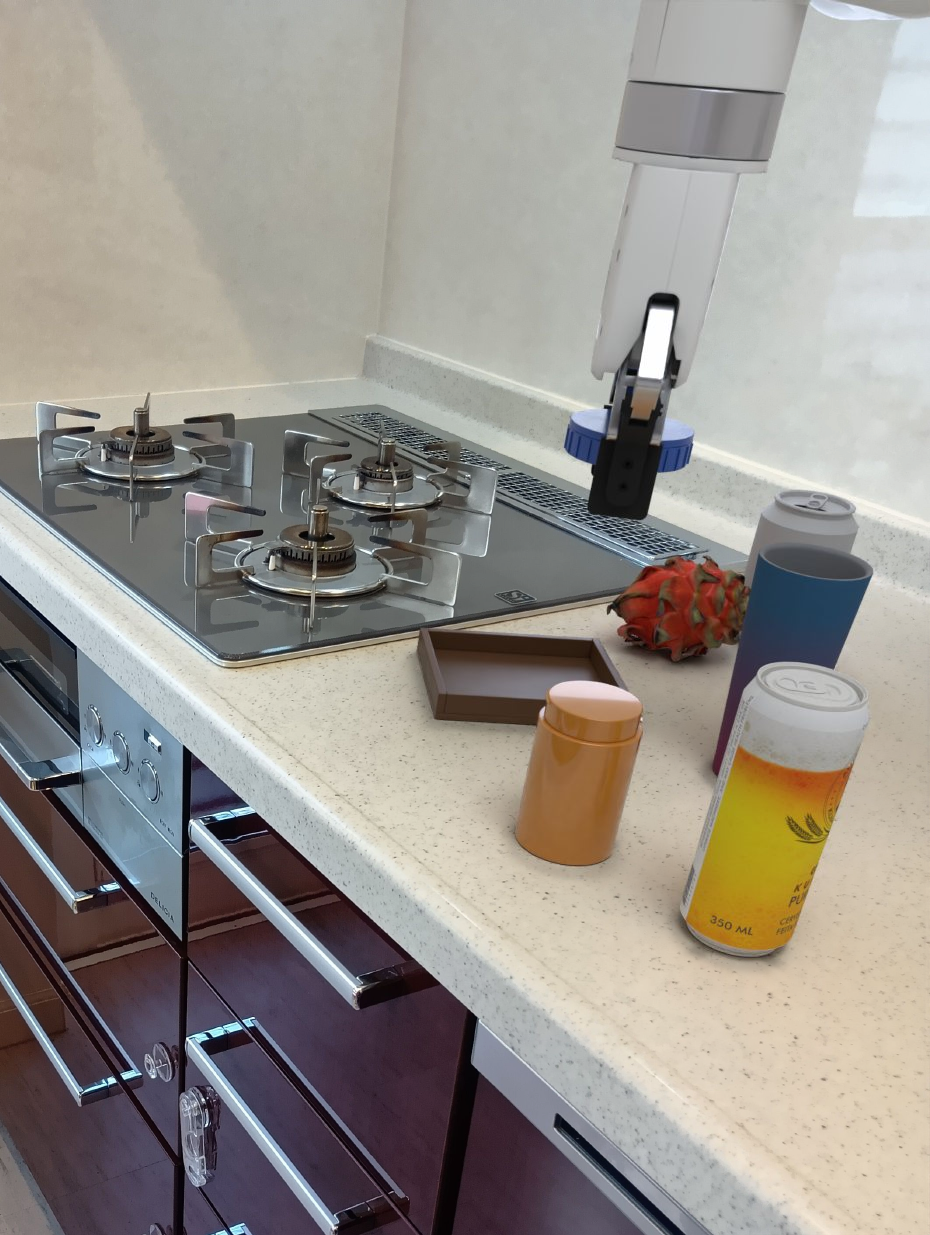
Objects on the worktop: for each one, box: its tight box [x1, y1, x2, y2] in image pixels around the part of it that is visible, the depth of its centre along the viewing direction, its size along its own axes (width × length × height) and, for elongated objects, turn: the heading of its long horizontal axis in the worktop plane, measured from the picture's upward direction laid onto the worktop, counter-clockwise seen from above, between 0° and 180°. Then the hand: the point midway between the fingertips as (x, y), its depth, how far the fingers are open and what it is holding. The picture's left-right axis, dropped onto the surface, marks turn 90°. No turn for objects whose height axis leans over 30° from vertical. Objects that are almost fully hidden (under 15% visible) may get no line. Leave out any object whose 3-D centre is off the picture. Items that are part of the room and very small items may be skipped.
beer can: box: [679, 662, 871, 958], centre depth 69 cm, size 6×6×15 cm
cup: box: [711, 542, 874, 776], centre depth 85 cm, size 7×7×15 cm
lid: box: [563, 408, 695, 474], centre depth 72 cm, size 7×7×2 cm
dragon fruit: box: [606, 554, 751, 662], centre depth 105 cm, size 8×8×12 cm
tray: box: [416, 627, 630, 726], centre depth 98 cm, size 14×12×2 cm
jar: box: [514, 681, 644, 866], centre depth 77 cm, size 6×6×9 cm
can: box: [737, 488, 860, 639], centre depth 107 cm, size 8×8×12 cm
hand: (617, 494), depth 73 cm, fingers closed on lid, 6 cm apart
